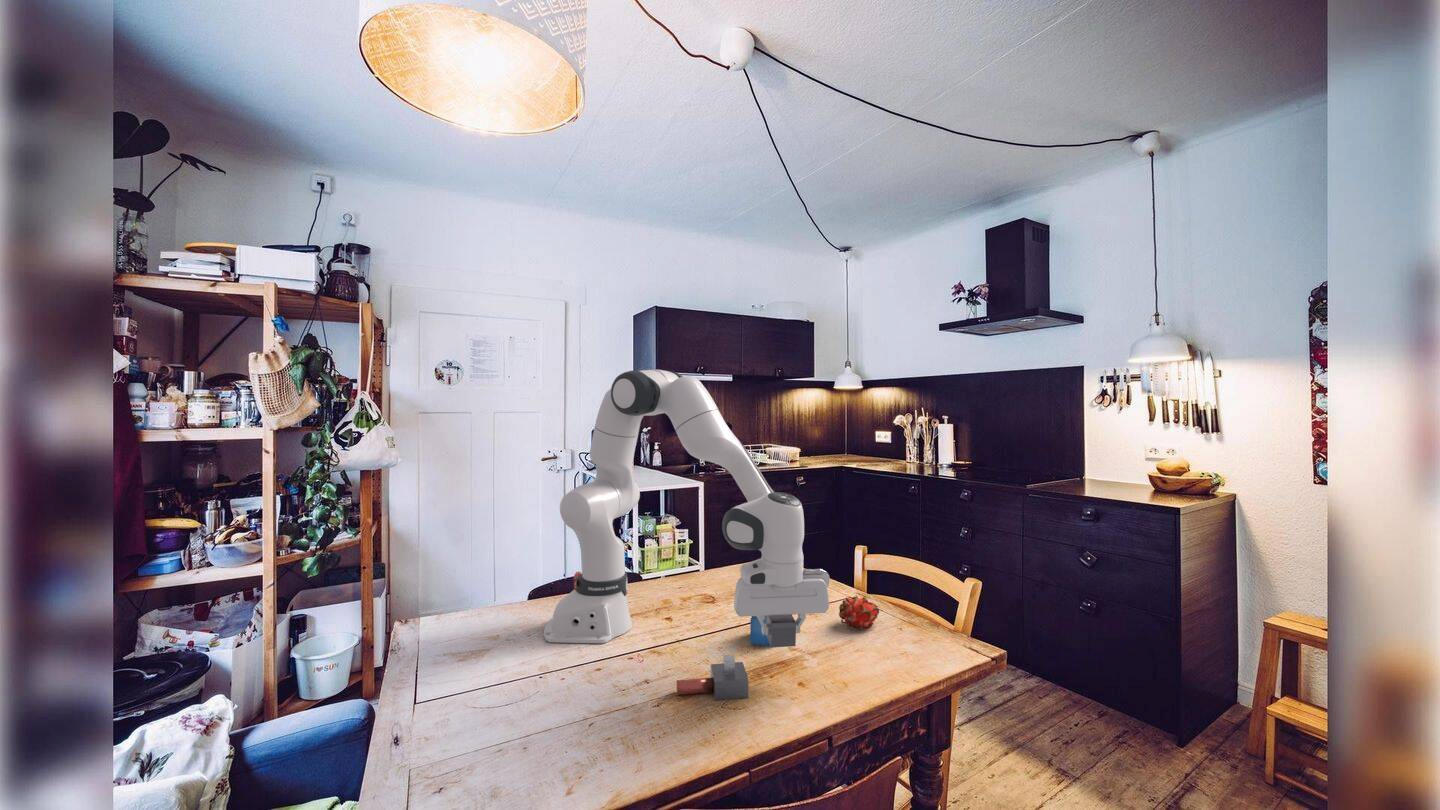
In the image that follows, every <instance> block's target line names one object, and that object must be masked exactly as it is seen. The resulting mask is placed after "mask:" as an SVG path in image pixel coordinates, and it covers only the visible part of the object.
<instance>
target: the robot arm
mask: <svg viewBox="0 0 1440 810" xmlns="http://www.w3.org/2000/svg"><path fill="white" fill-rule="evenodd" d="M602 398H603V399H602V400H601V404H600V406H599V409H598V413H597V416H596V419H595V424H594V428H593V433H592V437H591V438H592V439H591V443H590V447H589V448H590V449H589V458H590V460H591V461H592V463H594V464H595V468H596V475H595V479H594V480H593V481H591V482H588V483H584V484H581V485H578V486H576V487H575V488H572V490H570V491H568V492H567V493H566V494H565V495H564V496H563V497H562V499H561V501H560V504H559V513H560V517H561V519H562V521H563V522H564V524H565V525H566V526H567V527H568V528H570V529H571V530H572V531H573V532H574V533H575V535H576V538H577V541H578V544H579V548H580V558H581V571H576V572H575V573H574V575H573V588H574V589H573V590H572V591H570V593H568V594H567V595H565V596H564V597H563V598H562V599H560V601H558V603H557V604H556V606H555V608H554V611H553V615H552V618H550V619H549V620H548V621H547V622H546V624H545V626H544V629H543V638H545V639H544V640H545V641H546V640H547V641H548V643H563V644H564V643H566V644H567V643H568V644H571V643H572V644H606V643H608V642H609V641H610V640H612V639H614V638H616V637H618V636H621V635H624V634H625V633H627V632H628V631H630V630H631V628H632V627H633V621H632V618H631V614H630V610H629V605H628V598H627V597H628V596H627V594H628V587H629V586H628V574H627V571H626V563H625V561H626V560H625V558H626V556H625V555H626V554H625V543H624V542H623V540H622V539H621V538H619V537H618V536H616V534H615V530H614V525H613V522H614V520H615V519H617V518H620V517H622V516H625V515H626V514H627V513H629V512H630V511H631V510H633V508H634V507H636V506H637V505H638V503H639V500H640V497H641V493H640V492H641V491H640V488H639V485H638V483H637V482H636V480H635V479H634V473H633V469H634V468H633V467H634V465H633V463H634V458H635V452H636V446H637V443H638V438H639V432H640V427H641V422H642V420H643V418H644V416H657V415H661V414H665V415H666V416H668V418H669V419H670V421H671V424H672V426H673V429H674V431H675V433H676V434H677V437H678V439H679V441H680V443H681V445H682V446H683V448H684V449H685V451H686V452H687V453H688V454H689V455H690V456H692V457H693V458H695V459H697V460H701V461H704V462H710V463H712V464H716V465H718V466H721V467H722V468H724V469H725V470H727V472H729V474H730V475H731V476H732V478H733V479H734V480H735V483H736V485H737V486H738V487H739V489H740V490H741V492H742V494H743V495H744V498H745V499H746V500H747V502H744V503H741V504H739V505H735V506H734V507H732V508H730V509H729V510H728V511H726V512H725V514H724V515H723V519H722V522H721V528H722V534H723V537H724V539H725V540H726V541H727V543H728V544H729V545H730V546H731V547H732V548H734V549H737V550H741V551H757V550H758V551H760V552H761V557H760V558H758V559H756V560H752V561H750V562H747V563H743V564H742V565H740V568H739V572H740V577H739V578H738V580H737V582H736V585H735V589H734V595H733V596H734V597H733V610H734V611H735V614H736V615H737V616H738V617H740V618H741V617H743V618H744V617H752V616H757V618H758V620H759V622H760V624H761V625H762V634H763V635H769V634H770V632H769V631H770V626H769V624H765V623H764V622H763V620H765V616H767V615H790V614H792V615H797V616H798V617H797V618H796V619H795V621H796V634H801V626H803V623H804V622H805V620H806V617H807V615H810V614H826V613H827V611H828V610H829V609H830V602H829V601H830V597H829V591H828V587H829V585H830V575H829V573H828V572H827V571H826V570H823V568H814V569H813V568H812V569H811V568H804V559H805V558H804V553H803V543H804V539H805V517H804V508H803V505H802V502H801V501H800V499H798V498H797V497H796V496H794V495H792V494H789V493H787V492H779V491H777V492H776V491H774V490H773V489H772V487H771V486H770V485H769V483H768V481H767V479H766V478H765V477H764V475H763V473H762V471H761V470H760V469H759V467H758V465H757V464H756V462H755V460H754V459H753V457H752V456H751V454H750V452H749V451H748V450H747V449H746V446H745V445H744V444H743V443H742V442H741V441H740V439H739V438H738V437H736V435H735V434H734V432H733V431H732V430H731V429H730V427H729V426H728V424H727V423H726V421H725V419H724V417H723V415H722V413H721V411H720V410H719V408H718V406H717V405H716V403H715V401H714V398H713V397H712V396H711V394H710V393H709V391H708V390H707V387H705V386H704V385H703V383H702V382H701V381H700V380H699V379H698V378H697V377H694V376H690V375H689V376H687V375H686V376H685V375H684V376H683V375H682V374H681V373H678V372H676V371H673V370H663V369H658V368H657V369H654V368H652V369H651V368H650V369H645V370H644V369H643V370H637V369H634V370H629V371H625V372H622V373H621V374H618V376H616V377H615V379H614V380H613V382H612V384H611V388H609V390H607V391H606V393H605V394H604V396H603V397H602ZM547 641H546V642H547Z"/></svg>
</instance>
